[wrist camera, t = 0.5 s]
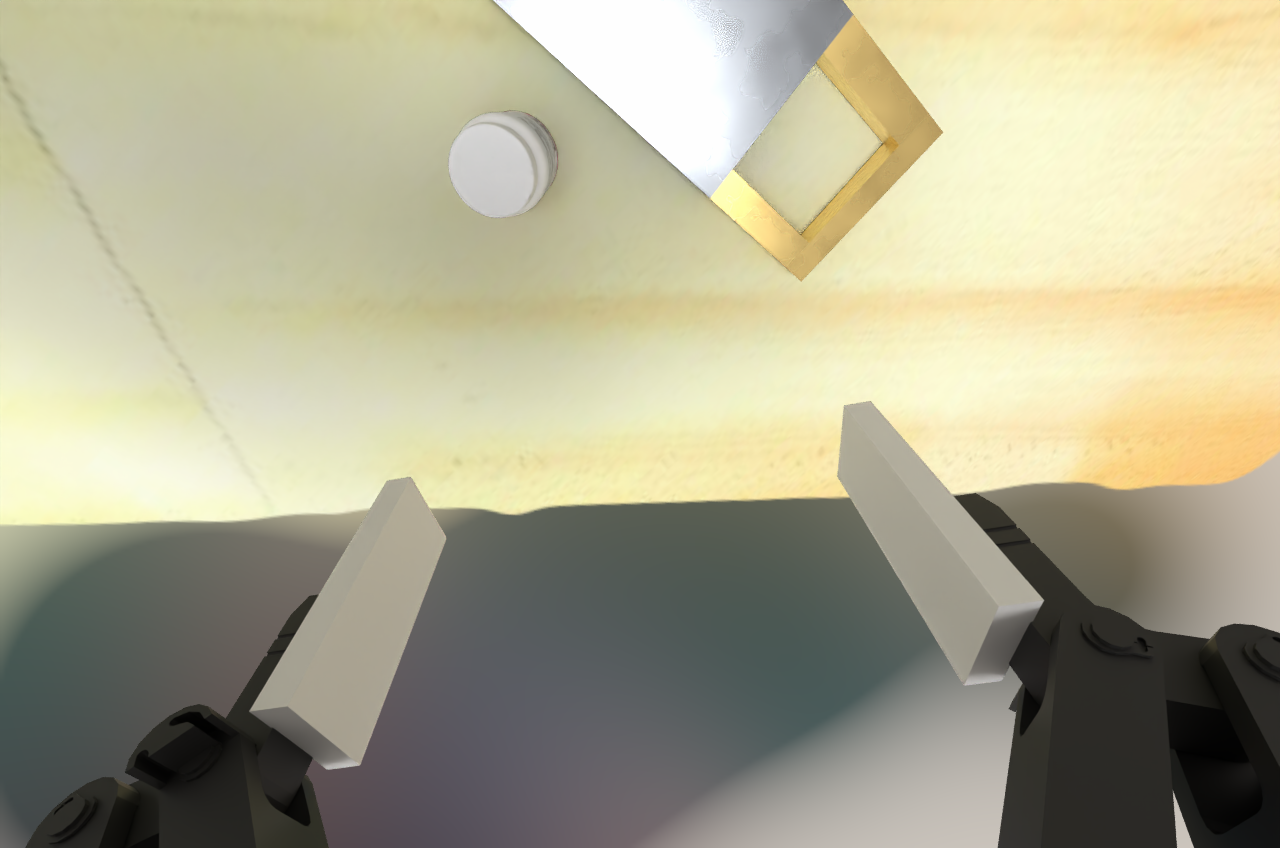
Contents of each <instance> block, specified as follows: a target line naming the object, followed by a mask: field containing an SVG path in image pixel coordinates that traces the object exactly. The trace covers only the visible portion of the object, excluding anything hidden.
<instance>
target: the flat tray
mask: <svg viewBox="0 0 1280 848" xmlns="http://www.w3.org/2000/svg"><path fill="white" fill-rule="evenodd" d="M493 1H494V2H496V3H497V4H498V5H499V6H500V7H501V8H502V9H503V10H504V11H505V12H507V13H508V14H509V15H510V16H511V17H512V18H513V19H514V20H515V21H516V22H517V23H519V24H520V25H521V26H522V27H523V28H524V29H525V30H526V31H527V32H528V33H530V34H531V35H532V36H533V37H534V38H535V39H536V40H537V41H538V42H539V43H540V44H542V45H543V46H544V47H545V48H546V49H547V50H548V51H549V52H550V53H551V54H553V55H554V56H555V57H556V58H557V59H558V60H559V61H560V62H561V63H562V64H563V65H565V66H566V67H567V68H568V69H569V70H570V71H571V72H572V73H573V74H574V75H576V76H577V77H578V78H579V79H580V80H581V81H582V82H583V83H584V84H585V85H586V86H588V87H589V88H590V89H591V90H592V91H593V92H594V93H595V94H596V95H597V96H599V97H600V98H601V99H602V100H603V101H604V102H605V103H606V104H607V105H608V106H609V107H611V108H612V109H613V110H614V111H615V112H616V113H617V114H618V115H619V116H620V117H622V118H623V119H624V120H625V121H626V122H627V123H628V124H629V125H630V126H631V127H632V128H634V129H635V130H636V131H637V132H638V133H639V134H640V135H641V136H642V137H643V138H645V139H646V140H647V141H648V142H649V143H650V144H651V145H652V146H653V147H654V148H655V149H657V150H658V151H659V152H660V153H661V154H662V155H663V156H664V157H665V158H666V159H668V160H669V161H670V162H671V163H672V164H673V165H674V166H675V167H676V168H677V169H678V170H680V171H681V172H682V173H683V174H684V175H685V176H686V177H687V178H688V179H689V180H691V181H692V182H693V183H694V184H695V185H696V186H697V187H698V188H699V189H700V190H701V191H703V192H704V193H705V194H706V195H707V196H708V197H709V198H710V199H711V200H712V201H714V202H715V203H716V204H717V205H718V206H719V207H720V208H721V209H722V210H723V211H724V212H726V213H727V214H728V215H729V216H730V217H731V218H732V219H733V220H734V221H735V222H737V223H738V224H739V225H740V226H741V227H742V228H743V229H744V230H745V231H746V232H747V233H749V234H750V235H751V236H752V237H753V238H754V239H755V240H756V241H757V242H758V243H760V244H761V245H762V246H763V247H764V248H765V249H766V250H767V251H768V252H769V253H770V254H772V255H773V256H774V257H775V258H776V259H777V260H778V261H779V262H780V263H781V264H783V265H784V266H785V267H786V268H787V269H788V270H789V271H790V272H791V273H792V274H793V275H795V276H796V277H797V278H798V279H799V280H800V281H802V280H803V279H804V278H805V277H806V276H807V275H808V274H809V273H810V272H811V271H812V270H813V269H814V267H815V266H816V265H817V264H818V263H819V262H820V261H821V260H822V259H823V258H824V257H825V256H826V255H827V254H828V253H829V252H830V251H831V250H832V249H833V248H834V246H835V245H836V244H837V243H838V242H839V241H840V240H841V239H842V238H843V237H844V236H845V235H846V234H847V233H848V232H849V231H850V230H851V229H852V228H853V227H854V225H855V224H856V223H857V222H858V221H859V220H860V219H861V218H862V217H863V216H864V215H865V214H866V213H867V212H868V211H869V210H870V209H871V208H872V207H873V205H874V204H875V203H876V202H877V201H878V200H879V199H880V198H881V197H882V196H883V195H884V194H885V193H886V192H887V191H888V190H889V189H890V188H891V187H892V186H893V184H894V183H895V182H896V181H897V180H898V179H899V178H900V177H901V176H902V175H903V174H904V173H905V172H906V171H907V170H908V169H909V168H910V167H911V166H912V165H913V163H914V162H915V161H916V160H917V159H918V158H919V157H920V156H921V155H922V154H923V153H924V152H925V151H926V150H927V149H928V148H929V147H930V146H931V145H932V143H933V142H934V141H935V140H936V139H937V138H938V137H939V136H940V135H941V134H942V133H943V132H942V130H941V129H940V128H939V126H938V125H937V124H936V122H935V121H934V120H933V118H932V117H931V116H930V115H929V113H928V112H927V111H926V109H925V108H924V107H923V105H922V104H921V103H920V101H919V100H918V99H917V97H916V96H915V95H914V94H913V92H912V91H911V90H910V88H909V87H908V86H907V84H906V83H905V82H904V80H903V79H902V78H901V76H900V75H899V74H898V73H897V71H896V70H895V69H894V67H893V66H892V65H891V63H890V62H889V61H888V59H887V58H886V57H885V55H884V54H883V53H882V52H881V50H880V49H879V48H878V46H877V45H876V44H875V42H874V41H873V40H872V38H871V37H870V36H869V34H868V33H867V32H866V31H865V29H864V28H863V27H862V25H861V24H860V23H859V21H858V20H857V19H856V17H855V16H854V15H853V13H852V12H851V11H850V10H849V8H848V7H847V6H846V4H845V3H844V2H843V0H493ZM815 63H817V64H818V66H819V67H820V68H821V69H822V70H823V72H824V73H825V74H826V75H827V76H828V78H829V79H830V80H831V81H832V82H833V84H834V85H835V86H836V87H837V88H838V90H839V91H840V92H841V93H842V94H843V95H844V97H845V98H846V99H847V100H848V101H849V103H850V104H851V105H852V106H853V107H854V109H855V110H856V111H857V112H858V113H859V115H860V116H861V117H862V118H863V119H864V121H865V122H866V123H867V124H868V125H869V127H870V128H871V129H872V130H873V131H874V133H875V134H876V135H877V136H878V137H879V139H880V140H881V141H882V142H883V144H882V145H881V147H880V148H879V149H878V150H877V151H876V152H875V153H874V154H873V155H872V157H871V158H870V159H869V160H868V161H867V162H866V163H865V164H864V165H863V166H862V168H861V169H860V170H859V171H858V172H857V173H856V174H855V175H854V176H853V178H852V179H851V180H850V181H849V182H848V183H847V184H846V185H845V186H844V188H843V189H842V190H841V191H840V192H839V193H838V194H837V195H836V196H835V197H834V199H833V200H832V201H831V202H830V203H829V204H828V205H827V206H826V207H825V209H824V210H823V211H822V212H821V213H820V214H819V215H818V216H817V217H816V218H815V220H814V221H813V222H812V223H811V224H810V225H809V226H808V227H807V228H806V230H805V231H804V232H803V233H802V234H801V235H800V234H799V233H798V232H797V231H796V230H795V229H794V228H793V227H792V226H791V225H790V224H789V223H788V222H787V221H786V220H784V219H783V218H782V217H781V216H780V215H779V214H778V213H777V212H776V211H775V210H774V209H773V208H772V207H771V206H770V205H769V204H768V203H767V202H766V201H765V200H764V199H763V198H762V197H761V196H760V195H759V194H758V193H757V192H756V191H755V190H753V189H752V188H751V187H750V186H749V185H748V184H747V183H746V182H745V181H744V180H743V179H742V178H741V177H740V176H739V175H738V174H737V173H736V172H735V171H734V170H733V168H734V167H735V166H736V165H737V163H738V162H739V161H740V159H741V158H742V157H743V156H744V154H745V153H746V152H747V150H748V149H749V148H750V147H751V145H752V144H753V143H754V141H755V140H756V139H757V138H758V136H759V135H760V134H761V132H762V131H763V130H764V129H765V127H766V126H767V125H768V123H769V122H770V121H771V120H772V118H773V117H774V116H775V114H776V113H777V112H778V111H779V109H780V108H781V107H782V105H783V104H784V103H785V102H786V100H787V99H788V98H789V96H790V95H791V94H792V93H793V91H794V90H795V89H796V87H797V86H798V85H799V84H800V82H801V81H802V80H803V78H804V77H805V76H806V75H807V73H808V72H809V71H810V70H811V68H812V67H813V66H814V64H815Z"/></svg>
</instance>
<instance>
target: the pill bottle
mask: <svg viewBox="0 0 1280 848" xmlns="http://www.w3.org/2000/svg"><path fill="white" fill-rule="evenodd" d="M448 166H449V174H450V178H451V181H452V184H453V186H454V188H455V190H456V192H457V193H458V195H459V196H460V197H461V199H462V200H463V201H464V202H465V203H466V204H467V205H468V206H469V207H470V208H472V209H473V210H475V211H476V212H478V213H480V214H482V215H485V216H488V217H492V218H504V217H509V216H517V215H520V214H523V213H525V212H527V211H528V210H530V209H531V208H533V207H534V206H535V205H536V204H537V203H538V202H539V200H540V199H541V198H542V196H543V195H544V194H545V192H546V191H547V190H548V188H549V187H550V186H551V184H552V183H553V181H554V178H555V176H556V172H557V167H558V154H557V149H556V145H555V142H554V140H553V138H552V136H551V134H550V133H549V131H548V130H547V128H546V127H545V126H544V125H543V124H542V123H541V122H540V121H539V120H538V119H536V118H535V117H533V116H531V115H529V114H527V113H524V112H520V111H504V112H490V113H485V114H482V115H479V116H477V117H475V118H473V119H472V120H470V121H469V122H468V123H467V124H466V125H465V126H464V127H463V128H462V130H461V131H460V133H459V135H458V136H457V137H456V139H455V140H454V142H453V144H452V146H451V149H450V153H449V160H448Z"/></svg>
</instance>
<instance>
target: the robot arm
mask: <svg viewBox="0 0 1280 848" xmlns="http://www.w3.org/2000/svg"><path fill="white" fill-rule="evenodd" d="M837 477H838V478H839V480H840V482H841V483H842V485H843V487H844V488H845V490H846V492H847V493H848V495H849V496H850V498H851V500H852V501H853V503H854V505H855V506H856V508H857V510H858V511H859V513H860V515H861V516H862V518H863V520H864V521H865V523H866V525H867V526H868V528H869V529H870V531H871V533H872V534H873V536H874V538H875V539H876V541H877V543H878V544H879V546H880V548H881V549H882V551H883V553H884V554H885V556H886V558H887V559H888V561H889V563H890V564H891V566H892V568H893V569H894V571H895V572H896V574H897V576H898V577H899V579H900V581H901V582H902V584H903V586H904V587H905V589H906V591H907V592H908V594H909V596H910V597H911V599H912V601H913V602H914V604H915V605H916V607H917V609H918V610H919V612H920V614H921V615H922V617H923V619H924V620H925V622H926V624H927V625H928V627H929V629H930V630H931V632H932V634H933V635H934V637H935V639H936V640H937V642H938V643H939V645H940V647H941V648H942V650H943V652H944V653H945V655H946V657H947V658H948V660H949V662H950V663H951V665H952V667H953V668H954V670H955V671H956V673H957V675H958V677H959V678H960V680H961V681H962V683H963V684H964V686H965V685H972V684H979V683H988V682H995V681H1002V679H1003V678H1004V676H1005V674H1006V672H1007V670H1008V668H1009V666H1011V667H1012V669H1013V670H1014V671H1015V673H1016V674H1017V676H1018V677H1019V678H1020V680H1021V681H1022V683H1023V684H1022V685H1021V687H1020V689H1019V691H1018V693H1017V694H1016V696H1015V698H1014V699H1013V701H1012V703H1011V705H1010V707H1009V709H1010V710H1012V711H1014V712H1016V718H1015V725H1014V733H1013V740H1012V748H1011V755H1010V762H1009V769H1008V776H1007V784H1006V792H1005V799H1004V806H1003V813H1002V820H1001V827H1000V835H999V842H998V848H1177V841H1176V829H1175V815H1174V802H1173V791H1174V794H1175V797H1176V800H1177V802H1178V805H1179V807H1180V811H1181V813H1182V816H1183V819H1184V822H1185V824H1186V827H1187V830H1188V832H1189V835H1190V838H1191V841H1192V843H1193V846H1194V848H1280V633H1278V632H1275V631H1271V630H1268V629H1265V628H1262V627H1258V626H1255V625H1244V624H1232V625H1228V626H1224V627H1221V628H1220V629H1219V630H1218V631H1217V632H1216V633H1215V634H1214V636H1212V637H1211V638H1210V639H1206V638H1198V637H1191V636H1184V635H1177V634H1170V633H1163V632H1156V631H1151V630H1147V629H1144V628H1143V627H1141V626H1140V625H1139V624H1137V623H1136V622H1134V621H1133V620H1132V619H1130V618H1129V617H1127V616H1125V615H1122V614H1120V613H1118V612H1116V611H1114V610H1111V609H1109V608H1104V607H1100V606H1096V605H1094V604H1093V603H1092V602H1091V601H1090V600H1088V599H1087V598H1086V597H1085V596H1084V595H1083V594H1082V593H1081V592H1080V591H1079V590H1078V589H1077V587H1076V586H1075V585H1074V584H1073V583H1072V582H1071V581H1070V580H1069V579H1068V578H1067V577H1066V576H1065V575H1064V574H1063V573H1062V572H1061V571H1060V570H1059V569H1058V568H1057V567H1056V566H1055V565H1054V564H1053V563H1052V561H1051V560H1050V559H1049V558H1048V557H1047V556H1046V555H1045V554H1044V553H1043V552H1042V551H1041V550H1040V549H1039V548H1038V547H1037V546H1036V545H1035V544H1034V543H1031V542H1030V539H1029V538H1028V537H1027V535H1026V534H1025V533H1024V532H1023V531H1022V530H1021V529H1020V528H1017V527H1016V524H1015V523H1014V522H1013V521H1012V520H1011V519H1010V518H1009V517H1008V516H1007V515H1006V514H1005V513H1004V512H1003V510H1001V508H999V507H998V506H996V505H995V504H993V503H992V502H990V501H988V500H986V499H985V498H983V497H981V496H980V495H978V494H976V493H973V494H967V495H960V496H953V495H952V494H951V493H950V492H949V491H948V489H947V488H946V487H945V486H944V485H943V484H942V483H941V481H940V480H939V479H938V478H937V477H936V476H935V474H934V473H933V472H932V471H931V470H930V469H929V468H928V466H927V465H926V464H925V463H924V462H923V461H922V460H921V458H920V457H919V456H918V455H917V454H916V453H915V451H914V450H913V449H912V448H911V447H910V446H909V445H908V443H907V442H906V441H905V440H904V439H903V438H902V437H901V435H900V434H899V433H898V432H897V431H896V430H895V429H894V427H893V426H892V425H891V424H890V423H889V422H888V420H887V419H886V418H885V417H884V416H883V415H882V414H881V412H880V411H879V410H878V409H877V408H876V407H875V406H874V404H873V403H872V402H871V401H869V402H862V403H856V404H850V405H844V411H843V422H842V433H841V444H840V454H839V465H838V476H837ZM445 541H446V536H445V534H444V533H443V531H442V529H441V528H440V526H439V524H438V522H437V521H436V519H435V517H434V515H433V514H432V512H431V510H430V509H429V507H428V505H427V503H426V502H425V500H424V498H423V497H422V495H421V493H420V491H419V490H418V488H417V486H416V485H415V483H414V481H413V479H412V478H411V477H407V478H401V479H395V480H389V481H387V482H386V483H385V485H384V487H383V488H382V490H381V492H380V493H379V495H378V497H377V498H376V500H375V502H374V503H373V505H372V507H371V508H370V510H369V512H368V513H367V515H366V517H365V518H364V520H363V522H362V524H361V525H360V527H359V528H358V530H357V532H356V533H355V535H354V537H353V539H352V540H351V542H350V544H349V545H348V547H347V549H346V550H345V552H344V554H343V555H342V557H341V559H340V560H339V562H338V564H337V565H336V567H335V569H334V570H333V572H332V574H331V576H330V577H329V579H328V581H327V582H326V584H325V586H324V587H323V589H322V590H321V592H320V594H319V595H313V596H309V597H308V598H307V599H306V600H305V601H304V602H303V603H302V604H301V605H300V606H299V607H298V608H297V609H296V610H295V611H294V612H293V613H292V614H291V616H290V617H289V619H288V620H287V622H286V624H285V625H284V627H283V628H282V630H281V631H280V633H279V635H278V639H277V640H275V641H274V643H273V644H272V646H271V647H270V649H269V650H268V652H267V653H268V655H267V656H266V657H264V658H263V660H262V662H261V663H260V665H259V666H258V668H257V669H256V671H255V673H254V674H253V676H252V678H251V679H250V681H249V682H248V684H247V685H246V687H245V689H244V690H243V692H242V693H241V695H240V697H239V698H238V700H237V702H236V703H235V704H234V706H233V708H232V709H231V711H230V712H229V714H228V716H227V717H226V719H225V718H224V717H222V716H221V715H220V714H218V713H217V712H215V711H214V710H212V709H211V708H210V707H208V706H204V705H200V704H198V705H194V706H189V707H186V708H183V709H182V710H180V711H178V712H176V713H174V714H173V715H170V716H169V717H168V718H166V719H165V720H164V721H163V722H161V723H160V724H159V725H157V726H156V727H155V728H153V729H152V731H151V732H150V733H149V734H148V735H147V736H146V737H145V738H144V739H143V740H142V741H141V742H140V743H139V745H138V746H137V748H136V749H135V751H134V752H133V754H132V755H131V757H130V759H129V762H128V765H127V768H126V771H125V773H127V774H129V775H131V776H133V777H135V778H137V779H139V781H137V782H134V783H132V784H130V785H127V784H125V783H123V782H121V781H119V780H117V779H115V778H111V777H102V778H100V779H97V780H94V781H92V782H89V783H87V784H86V785H84V786H82V787H81V788H80V789H78V790H76V791H75V792H73V793H71V794H70V795H69V796H68V797H67V798H66V799H65V800H63V801H62V802H61V803H60V804H59V805H57V806H56V807H55V808H54V809H53V810H52V811H51V812H50V813H49V815H48V816H47V817H46V818H45V819H44V820H43V821H42V822H41V824H40V825H39V826H38V828H37V829H36V831H35V832H34V834H33V835H32V837H31V839H30V840H29V842H28V844H27V846H26V848H329V847H328V843H327V839H326V835H325V831H324V827H323V823H322V820H321V816H320V812H319V808H318V804H317V800H316V796H315V792H314V788H313V784H312V782H311V781H310V779H309V777H308V776H307V775H305V774H306V772H307V769H308V767H309V765H310V763H311V761H312V759H314V760H315V761H316V762H318V763H319V764H320V765H322V766H323V767H324V768H326V769H327V770H328V769H336V768H344V767H351V766H359V765H360V763H361V761H362V759H363V756H364V753H365V751H366V748H367V745H368V743H369V740H370V738H371V735H372V732H373V730H374V727H375V725H376V722H377V719H378V717H379V714H380V711H381V709H382V706H383V704H384V701H385V698H386V696H387V693H388V690H389V688H390V685H391V682H392V680H393V677H394V674H395V672H396V669H397V666H398V664H399V661H400V658H401V656H402V654H403V651H404V648H405V646H406V643H407V640H408V638H409V635H410V633H411V630H412V627H413V625H414V622H415V619H416V617H417V614H418V611H419V609H420V606H421V604H422V601H423V598H424V596H425V593H426V590H427V588H428V585H429V583H430V580H431V577H432V575H433V572H434V570H435V567H436V564H437V562H438V559H439V556H440V554H441V551H442V548H443V546H444V543H445ZM1016 710H1017V711H1016Z"/></svg>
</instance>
